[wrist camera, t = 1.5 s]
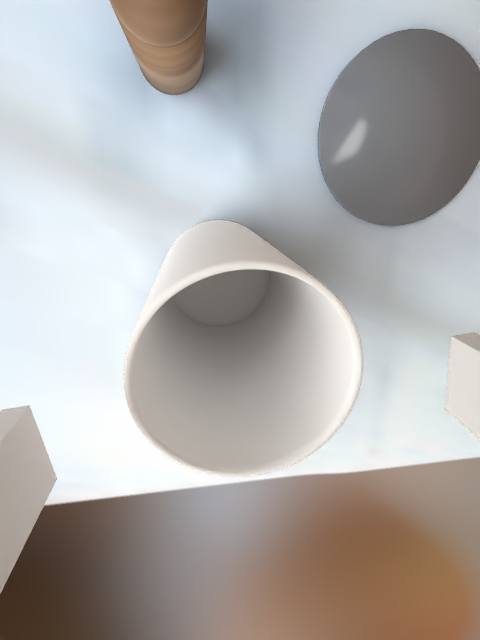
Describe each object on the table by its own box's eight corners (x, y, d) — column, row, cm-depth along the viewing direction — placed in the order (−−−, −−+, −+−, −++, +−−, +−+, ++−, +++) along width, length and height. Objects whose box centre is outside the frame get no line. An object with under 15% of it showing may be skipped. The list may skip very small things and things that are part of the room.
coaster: (313, 42, 23) (316, 38, 22) (492, 23, 23) (499, 19, 23) (321, 234, 27) (323, 235, 26) (472, 213, 28) (478, 214, 27)
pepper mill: (131, 20, 21) (75, -124, 11) (198, 14, 22) (200, -133, 12) (145, 98, 23) (106, 28, 13) (208, 91, 23) (217, 17, 13)
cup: (288, 240, 27) (404, 303, 12) (252, 338, 29) (311, 494, 14) (180, 203, 25) (157, 224, 10) (151, 311, 27) (98, 456, 12)
